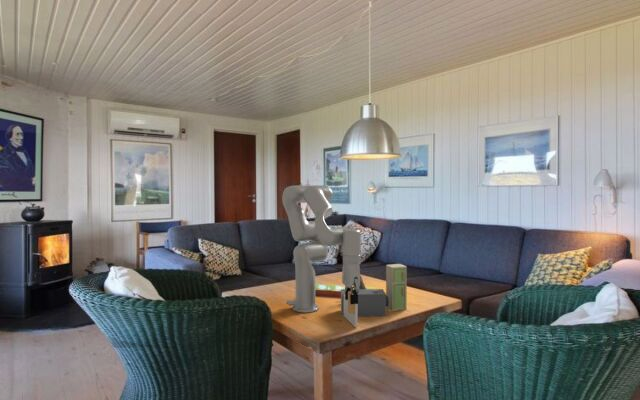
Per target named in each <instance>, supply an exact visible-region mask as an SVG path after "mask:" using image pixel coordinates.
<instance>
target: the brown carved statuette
mask: <svg viewBox="0 0 640 400" xmlns="http://www.w3.org/2000/svg"><path fill="white" fill-rule="evenodd" d="M353 287H355V285H353ZM353 289H355V288H353ZM359 289H367V288H366V285H365V283H364V280H363V277H362V276H361V275H360V286H359Z"/></svg>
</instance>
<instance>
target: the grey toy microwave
mask: <svg viewBox="0 0 640 400" xmlns="http://www.w3.org/2000/svg"><path fill="white" fill-rule="evenodd" d="M353 290H354V288H353ZM344 295H345V288H344V289H343V288H341V289H340V311H341V316H342V317H344V316H343V313H344ZM388 304H389V301H388V296H386V291H385V290H384V288H379V289H378V288H366V289H359V291H358V317H386V316H387V307H388Z"/></svg>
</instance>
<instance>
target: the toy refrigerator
mask: <svg viewBox="0 0 640 400" xmlns="http://www.w3.org/2000/svg"><path fill="white" fill-rule="evenodd" d="M407 271H408V270H407V265H404V264H402V263H393V264H392V263H391V264H386V266H385V280H386V281H385V293H386V296H388V301H389V304H388V307H386V309H388V310H389V311H392V312H394V311H395V312H396V311H404V310H407V305H408V304H407V300H408V299H407V297H408V296H407V293H408V292H407V289H408V288H407V285H408V284H407V281H408V280H407V278H408V277H407V276H408V273H407Z"/></svg>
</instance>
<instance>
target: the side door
mask: <svg viewBox="0 0 640 400" xmlns="http://www.w3.org/2000/svg"><path fill="white" fill-rule="evenodd" d="M350 294H351V291H348V300H345V295H344V313H343V316H342V317H344V318H345V319H346V320H347V321H348V322H349V323H351V324H352V326H354V327H355V328H357V327H358V326H359V324H358V321H359V320H358V317H359V316H358V304H350Z"/></svg>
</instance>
